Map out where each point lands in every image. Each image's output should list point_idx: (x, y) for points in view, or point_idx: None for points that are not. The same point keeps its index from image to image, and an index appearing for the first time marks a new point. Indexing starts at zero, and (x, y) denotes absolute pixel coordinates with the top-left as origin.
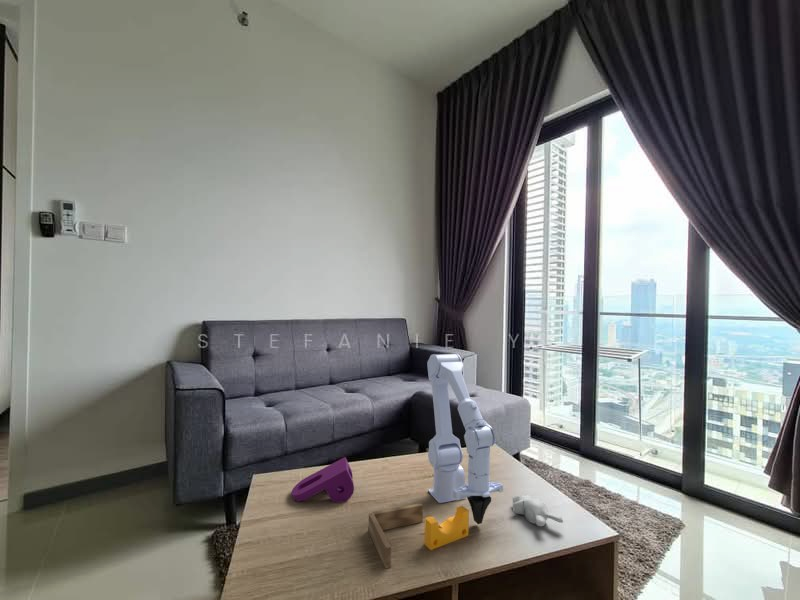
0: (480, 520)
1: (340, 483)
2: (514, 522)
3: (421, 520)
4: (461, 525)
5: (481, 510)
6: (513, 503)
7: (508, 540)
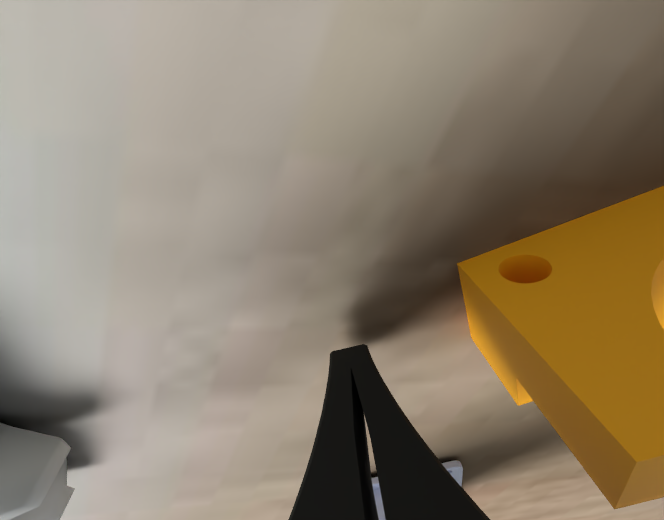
0: (351, 366)
1: None
2: (80, 369)
3: None
4: (612, 294)
5: (358, 456)
6: (30, 509)
7: (153, 188)
